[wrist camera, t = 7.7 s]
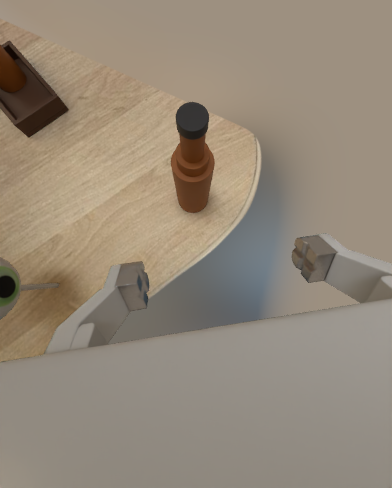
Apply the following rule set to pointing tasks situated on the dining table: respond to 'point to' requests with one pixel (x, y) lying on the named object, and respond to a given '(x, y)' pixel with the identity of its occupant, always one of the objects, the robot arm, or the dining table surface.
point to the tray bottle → (10, 73)
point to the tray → (30, 98)
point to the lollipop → (13, 287)
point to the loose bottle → (192, 158)
